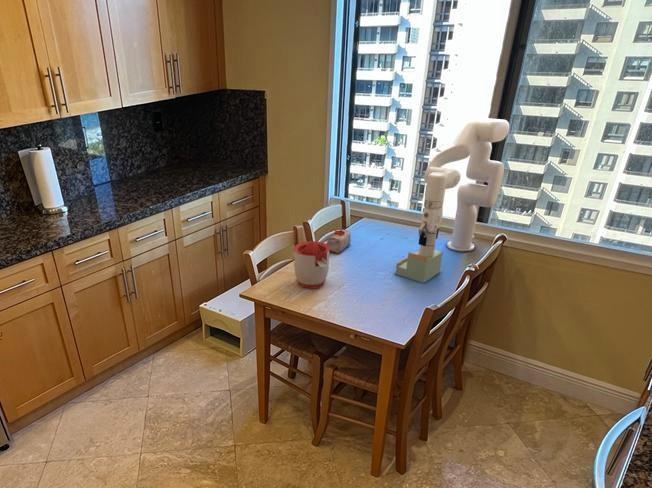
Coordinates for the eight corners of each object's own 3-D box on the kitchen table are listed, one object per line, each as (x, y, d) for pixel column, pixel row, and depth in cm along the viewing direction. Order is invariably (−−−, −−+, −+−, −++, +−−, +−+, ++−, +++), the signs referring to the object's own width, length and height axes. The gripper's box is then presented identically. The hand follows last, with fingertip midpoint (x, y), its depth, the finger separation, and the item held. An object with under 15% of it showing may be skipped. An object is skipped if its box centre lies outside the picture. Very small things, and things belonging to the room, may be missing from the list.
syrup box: (433, 256, 223) (438, 224, 215) (419, 256, 224) (424, 224, 216) (432, 251, 228) (437, 220, 220) (418, 251, 229) (422, 219, 221)
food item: (339, 255, 254) (340, 236, 248) (325, 252, 258) (325, 233, 252) (351, 245, 263) (352, 227, 258) (337, 243, 267) (338, 225, 262)
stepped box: (411, 264, 241) (415, 240, 234) (439, 272, 232) (443, 247, 226) (395, 274, 233) (398, 249, 226) (423, 282, 224) (427, 257, 218)
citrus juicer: (308, 295, 219) (309, 252, 208) (287, 280, 232) (286, 239, 222) (338, 286, 225) (340, 244, 214) (315, 272, 238) (316, 231, 227)
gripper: (431, 210, 206) (425, 249, 215) (452, 199, 216) (445, 237, 225) (414, 206, 211) (409, 245, 220) (435, 196, 221) (430, 233, 230)
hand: (427, 241), depth 223 cm, fingers open, 9 cm apart
